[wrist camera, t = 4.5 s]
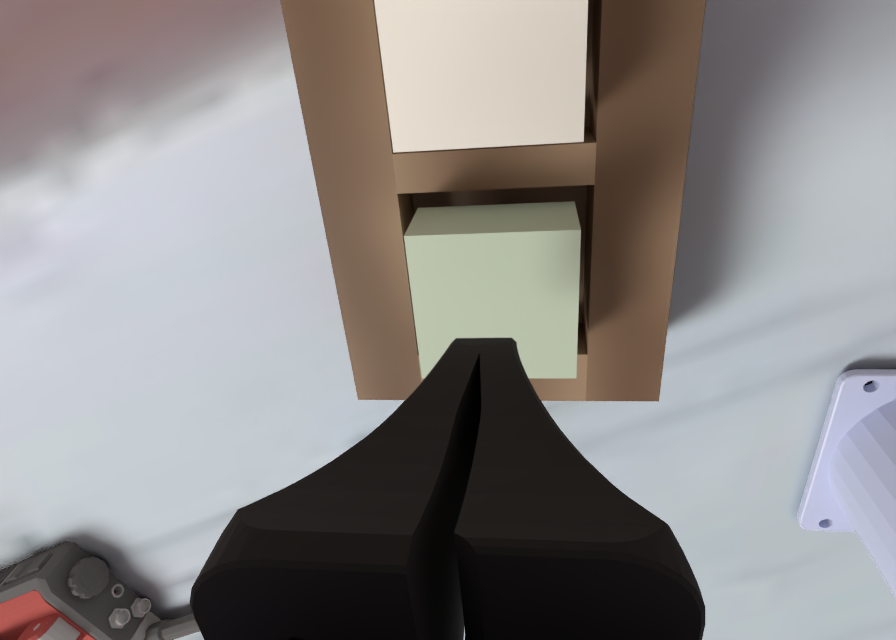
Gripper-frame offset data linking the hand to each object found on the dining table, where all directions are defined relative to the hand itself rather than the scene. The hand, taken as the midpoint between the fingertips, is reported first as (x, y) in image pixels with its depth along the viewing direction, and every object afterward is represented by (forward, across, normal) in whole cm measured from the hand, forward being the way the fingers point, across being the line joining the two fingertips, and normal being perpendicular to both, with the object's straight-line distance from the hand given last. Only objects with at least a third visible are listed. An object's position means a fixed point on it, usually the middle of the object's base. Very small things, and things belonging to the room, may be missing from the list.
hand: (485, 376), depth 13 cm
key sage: (+5, 0, 0) cm, 5 cm away
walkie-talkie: (+9, +24, +22) cm, 34 cm away
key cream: (+5, 0, -7) cm, 8 cm away
